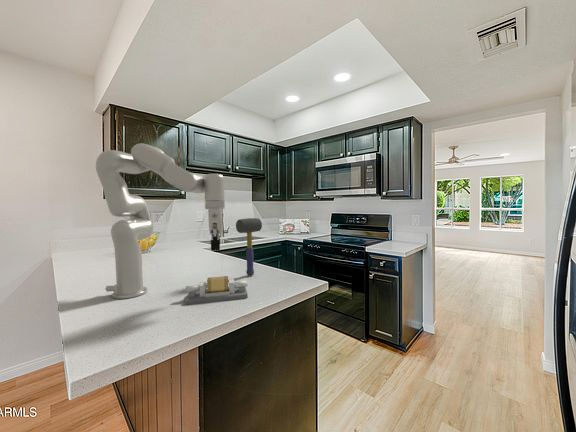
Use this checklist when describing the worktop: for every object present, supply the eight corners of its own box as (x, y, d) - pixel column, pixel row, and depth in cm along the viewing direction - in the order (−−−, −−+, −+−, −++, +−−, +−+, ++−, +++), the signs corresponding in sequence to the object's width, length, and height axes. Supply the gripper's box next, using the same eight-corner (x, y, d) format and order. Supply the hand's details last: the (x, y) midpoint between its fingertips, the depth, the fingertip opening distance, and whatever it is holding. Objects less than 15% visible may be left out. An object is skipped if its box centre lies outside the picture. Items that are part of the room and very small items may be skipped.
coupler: (228, 290, 106) (227, 276, 106) (228, 293, 102) (228, 278, 102) (208, 292, 104) (207, 277, 104) (207, 295, 100) (207, 280, 100)
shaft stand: (184, 304, 95) (184, 289, 95) (188, 295, 105) (187, 281, 105) (248, 297, 101) (248, 283, 101) (246, 289, 111) (245, 276, 111)
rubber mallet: (243, 279, 126) (242, 219, 125) (236, 276, 132) (234, 218, 131) (264, 274, 134) (262, 217, 133) (256, 272, 140) (254, 217, 139)
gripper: (224, 205, 94) (225, 251, 95) (224, 205, 111) (225, 244, 111) (203, 205, 92) (204, 252, 93) (206, 205, 109) (207, 245, 110)
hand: (215, 248), depth 102 cm, fingers open, 9 cm apart
